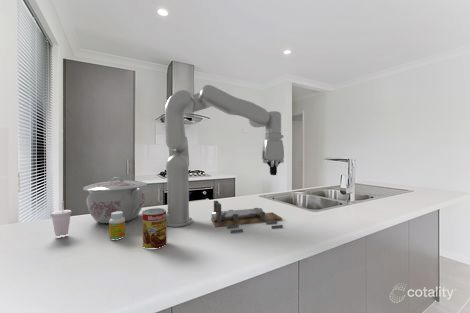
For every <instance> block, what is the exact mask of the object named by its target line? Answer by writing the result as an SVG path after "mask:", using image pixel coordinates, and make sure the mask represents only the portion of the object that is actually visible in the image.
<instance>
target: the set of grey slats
mask: <svg viewBox="0 0 470 313" xmlns="http://www.w3.org/2000/svg"><path fill="white" fill-rule="evenodd" d="M274 224H275V225H274ZM265 225H267V226H268V225H271V229H281V228H283V227H284V225H283V224H278V221H271V222H265ZM238 228H239V229H238ZM226 229H227V230H228V229H230V234H236V233H243V232H244V229H243V228H241V229H240V225H232V226H226Z"/></svg>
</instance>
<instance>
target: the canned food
mask: <svg viewBox="0 0 470 313" xmlns="http://www.w3.org/2000/svg"><path fill="white" fill-rule="evenodd" d="M141 213H142V214H141V215H142V220H141V221H142V227H141V228H142V248H143V247H145V248H159V247H162V246H164V245H166V246H167V244H166V243H167V238H168V236H167V226H166V214H167V209H166V208H159V207H158V208H157V207H156V208H149V209H145V210H143V211H142V212H141ZM164 247H165V246H164ZM162 248H163V247H162Z"/></svg>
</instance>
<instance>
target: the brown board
mask: <svg viewBox="0 0 470 313" xmlns="http://www.w3.org/2000/svg"><path fill="white" fill-rule="evenodd" d="M257 208H258V207H254V208H253V209H257ZM232 210H233V209H228V211H232ZM221 211H222V204H221V203H220V202H219V201H218V200H213V212H217V221H212V217H211V218H210V221H211V222H212V225H213V226H214V227H215V228H219V227H220V228H221V227H227V226H232V225H239V226H240V225H250V224H259V223H260V224H261V223H266V222H271V221H277V222H278V221H279V222H280V221H283V217H281V216H279V215H278V214H276V213H274V212H265V211H264V210H263V212H260V217H253V218H242V219H238V214H233V219H231V220H221Z"/></svg>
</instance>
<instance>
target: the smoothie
mask: <svg viewBox="0 0 470 313" xmlns="http://www.w3.org/2000/svg"><path fill="white" fill-rule="evenodd" d="M64 202H65V201H64V200H61V209H59V210H55V211H53V212H51V213H50V217H51V220H52V224H53V230H54V236H55V235H56V236H60V235H66V234H68V235H69V230H70V220H71V214H72V210H71V209H64V208H65V207H64V204H65V203H64ZM56 236H55V237H56Z"/></svg>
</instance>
